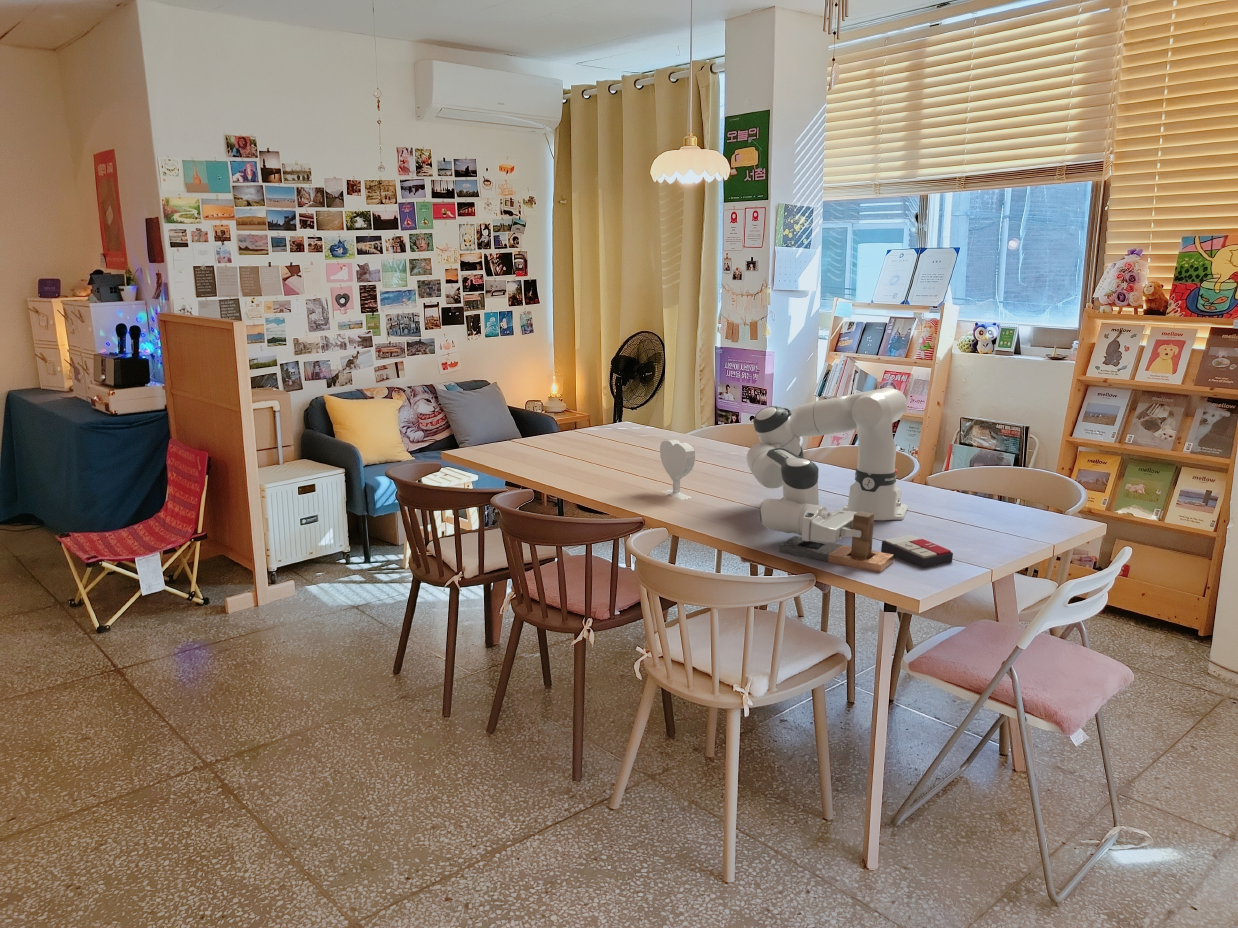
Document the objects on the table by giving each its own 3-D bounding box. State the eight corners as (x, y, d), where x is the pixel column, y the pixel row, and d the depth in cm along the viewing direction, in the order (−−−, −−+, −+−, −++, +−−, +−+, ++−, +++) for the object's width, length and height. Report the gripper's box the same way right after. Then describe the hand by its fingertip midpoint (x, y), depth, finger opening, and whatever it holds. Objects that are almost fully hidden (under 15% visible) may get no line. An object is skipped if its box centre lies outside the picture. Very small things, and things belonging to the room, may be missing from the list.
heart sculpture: (695, 498, 298) (697, 445, 294) (683, 500, 296) (684, 446, 292) (669, 488, 311) (670, 437, 307) (657, 490, 309) (658, 438, 305)
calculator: (924, 556, 232) (881, 537, 244) (922, 572, 233) (879, 552, 246) (954, 550, 237) (911, 532, 250) (952, 565, 238) (909, 546, 251)
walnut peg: (856, 558, 240) (859, 511, 237) (870, 561, 238) (874, 513, 235) (850, 562, 237) (853, 514, 234) (865, 565, 235) (868, 517, 232)
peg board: (794, 542, 253) (794, 535, 252) (893, 561, 237) (894, 554, 237) (778, 551, 245) (779, 544, 244) (880, 572, 229) (881, 564, 229)
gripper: (830, 524, 251) (878, 532, 244) (799, 542, 235) (851, 552, 227) (831, 502, 250) (880, 510, 242) (801, 518, 234) (852, 528, 226)
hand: (866, 530), depth 235 cm, fingers open, 5 cm apart
